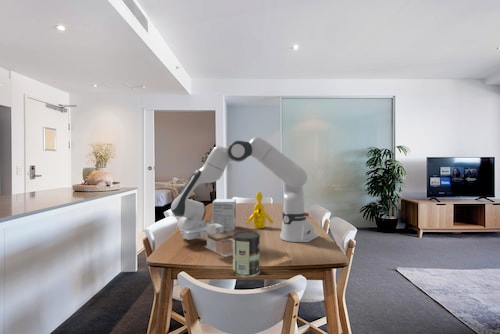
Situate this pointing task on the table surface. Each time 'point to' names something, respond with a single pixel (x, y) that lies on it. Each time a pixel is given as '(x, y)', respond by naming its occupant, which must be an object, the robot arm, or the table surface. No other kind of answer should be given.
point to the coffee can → (246, 254)
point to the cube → (224, 246)
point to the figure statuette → (259, 213)
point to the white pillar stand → (211, 243)
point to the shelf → (223, 235)
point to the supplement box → (224, 213)
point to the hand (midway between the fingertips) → (212, 234)
